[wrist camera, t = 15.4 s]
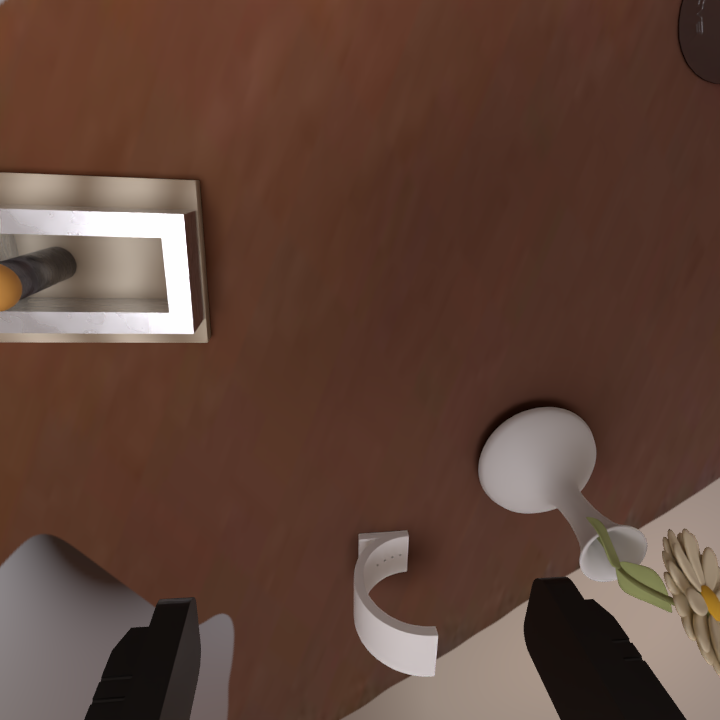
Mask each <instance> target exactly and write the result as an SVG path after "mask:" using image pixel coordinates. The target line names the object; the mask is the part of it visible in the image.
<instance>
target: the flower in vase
mask: <svg viewBox="0 0 720 720" xmlns="http://www.w3.org/2000/svg"><path fill="white" fill-rule="evenodd" d="M595 461H596V445H595V441H594V438H593V435H592V432H591V430H590V428H589V427H588V425H587V424H586V423H585V421H584V420H583V419H582V418H580V417H579V416H578V415H576V414H575V413H573V412H571V411H568V410H565V409H562V408H557V407H540V408H535V409H530V410H526V411H523V412H521V413H518V414H516V415H514V416H512V417H511V418H509V419H507V420H506V421H505V422H503V423H502V424H501V425H500V426H499V427H498V428H496V430H495V431H494V432H493V433H492V434H491V436H490V437H489V438H488V440H487V442H486V444H485V446H484V448H483V450H482V453H481V455H480V459H479V466H478V473H479V479H480V483H481V485H482V488H483V490H484V491H485V493H486V494H487V495H488V496H489V498H491V499H492V500H493V501H494V502H496V503H497V504H499V505H500V506H502V507H504V508H506V509H508V510H510V511H514V512H518V513H540V512H545V511H550V510H553V509H556V508H558V509H559V510H560V512H561V513H562V514H563V515H564V516H565V518H566V519H567V521H568V522H569V524H570V525H571V527H572V529H573V530H574V532H575V534H576V536H577V539H578V541H579V544H580V548H581V553H580V559H579V562H580V567H581V570H582V572H583V573H584V575H585V576H587V577H588V578H590V579H592V580H594V581H600V582H608V581H614V580H617V579H618V583H619V586H620V587H621V589H622V590H623V591H624V592H626V593H627V594H629V595H631V596H633V597H635V598H638V599H640V600H643V601H645V602H648V603H650V604H652V605H655V606H657V607H659V608H662V609H664V610H666V611H668V612H672V608H671V604H672V605H674V606H675V608H676V610H677V612H678V614H679V615H680V617H681V620H682V624H683V627H684V629H685V631H686V633H687V635H688V637H689V638H690V639H691V640H692V641H695V640H696V641H697V644H698V647H699V649H700V651H701V654H702V655H703V657H704V659H705V660H706V662H707V663H708V664H709V665H711V666H713V667H714V669H715V671H716V673H717V674H718V676H719V677H720V568H719V567H718V563H717V558H716V555H715V553H714V552H713V550H712V549H711V548H709V547H706V548H705V549H704V551H703V555H700V551H699V546H698V542H697V540H696V538H695V536H694V535H693V534H692V533H689V531H688V530H687V529H683V531H682V533H679V534H678V535H677V538H676V536H675V534H674V533H673V531H672V530H670V529H669V530H668V539H667V538H666V537H663V546H664V551H662V557H663V561H664V564H665V567H666V569H667V571H668V572H664V579H665V582H666V585H667V587H668V589H669V591H670V592H671V594H672V595H673V598H672V597H670V596H668V593H667V590H666V588H665V585H664V583H663V581H662V580H661V578H660V577H659V575H658V574H657V573H656V572H655V571H654V570H652V569H650V568H648V567H645V566H642V565H639V564H640V563H641V562H642V560H643V559H644V557H645V554H646V551H647V540H646V538H645V536H644V534H643V533H642V532H641V531H639V530H638V529H636V528H634V527H631V526H627V525H619V524H616V523H614V522H612V521H610V520H609V519H607V518H606V517H604V516H603V515H602V514H601V513H599V512H598V511H597V510H596V509H595V508H594V507H593V506H592V505H591V504H590V503H589V502H588V501H587V500H586V499H585V497H584V496H583V495H582V494H581V492H580V491H581V490H582V489H583V488H584V486H585V485H586V483H587V482H588V480H589V478H590V476H591V473H592V471H593V468H594V465H595Z"/></svg>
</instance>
